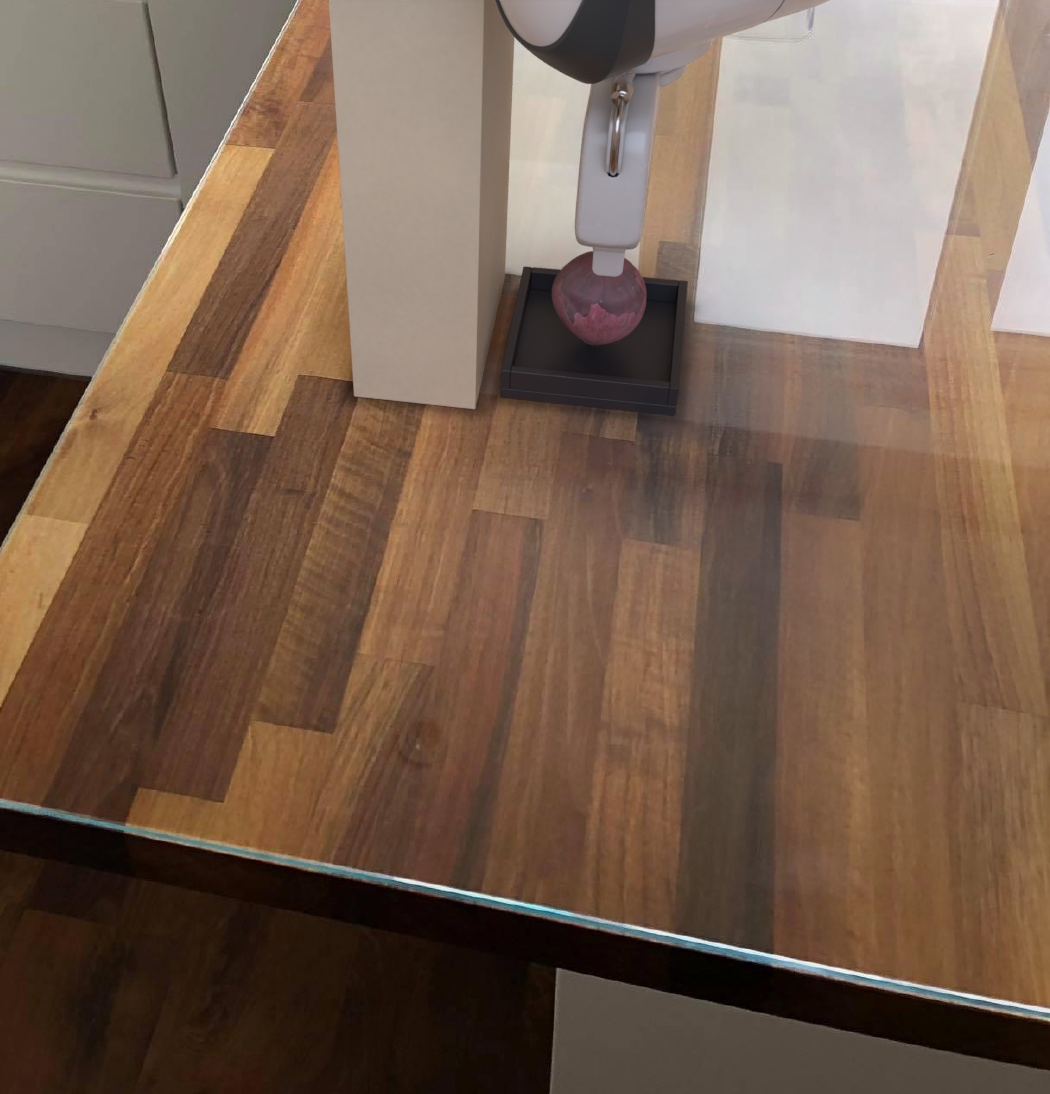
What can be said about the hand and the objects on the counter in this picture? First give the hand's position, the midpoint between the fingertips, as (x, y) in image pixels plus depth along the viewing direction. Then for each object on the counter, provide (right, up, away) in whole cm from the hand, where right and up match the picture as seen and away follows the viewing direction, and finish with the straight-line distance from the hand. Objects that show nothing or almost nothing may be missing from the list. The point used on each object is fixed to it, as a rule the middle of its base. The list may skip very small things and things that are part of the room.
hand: (614, 223), depth 84 cm
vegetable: (0, -6, +7) cm, 10 cm away
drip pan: (0, -7, +8) cm, 10 cm away
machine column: (-11, -5, +9) cm, 15 cm away
